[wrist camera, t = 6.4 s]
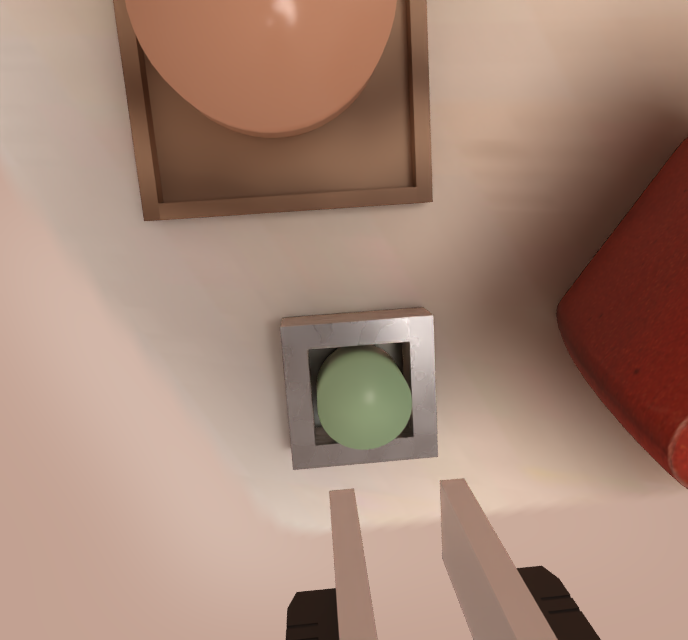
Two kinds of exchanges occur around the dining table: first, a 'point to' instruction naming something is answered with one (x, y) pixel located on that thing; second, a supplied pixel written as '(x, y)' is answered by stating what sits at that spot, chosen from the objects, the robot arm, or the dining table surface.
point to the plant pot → (640, 319)
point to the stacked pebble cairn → (265, 57)
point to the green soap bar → (362, 397)
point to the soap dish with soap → (354, 330)
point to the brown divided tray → (285, 141)
